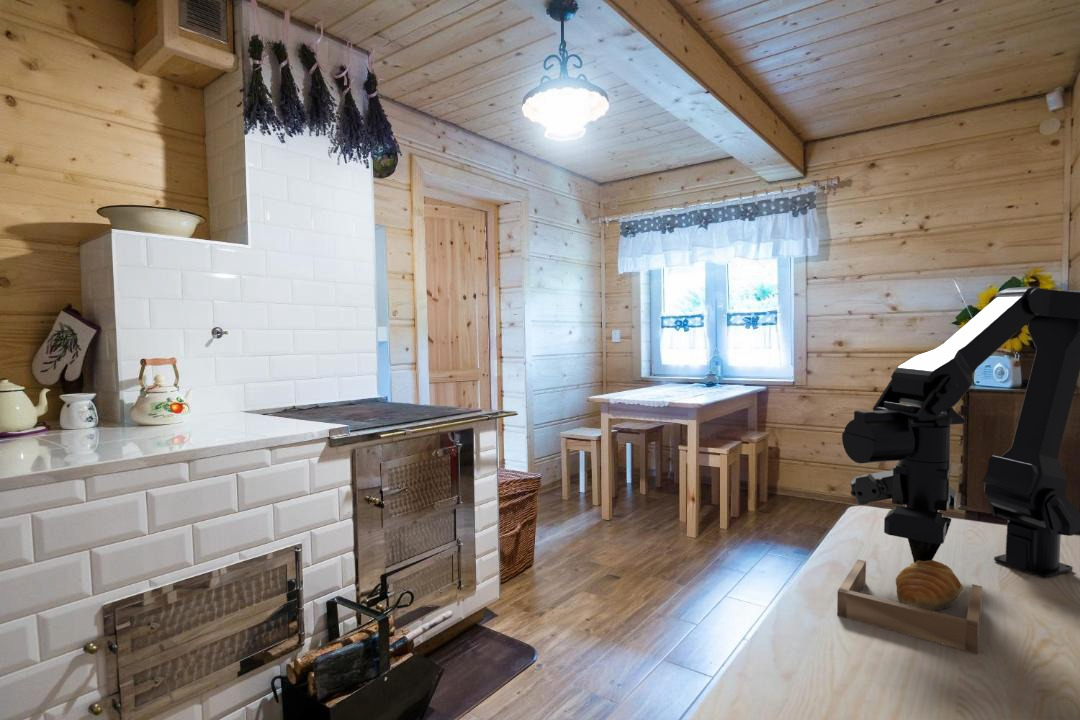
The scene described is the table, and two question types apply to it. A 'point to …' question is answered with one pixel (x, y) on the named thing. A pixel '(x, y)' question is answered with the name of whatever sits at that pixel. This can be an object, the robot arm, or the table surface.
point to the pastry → (928, 585)
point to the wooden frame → (909, 614)
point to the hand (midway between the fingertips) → (921, 570)
